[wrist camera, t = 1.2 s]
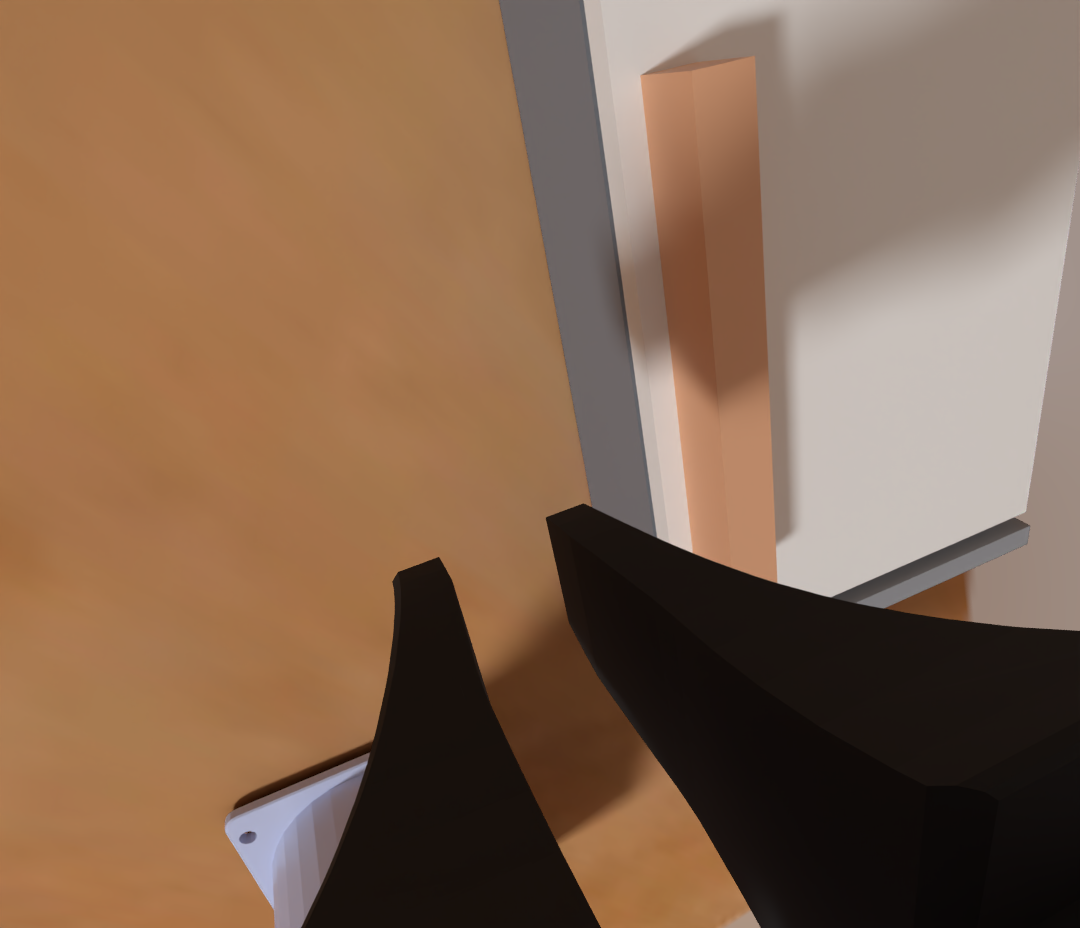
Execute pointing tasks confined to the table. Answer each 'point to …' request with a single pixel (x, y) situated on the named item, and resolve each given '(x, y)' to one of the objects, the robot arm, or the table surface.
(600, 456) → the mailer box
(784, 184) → the lid
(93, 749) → the table surface
